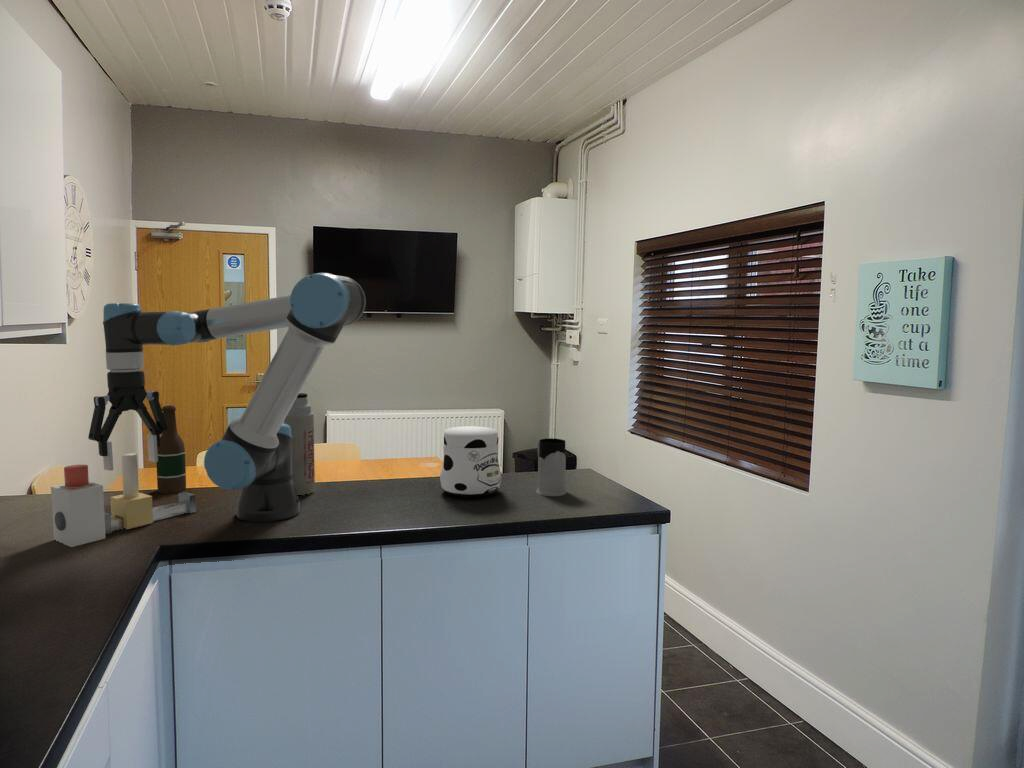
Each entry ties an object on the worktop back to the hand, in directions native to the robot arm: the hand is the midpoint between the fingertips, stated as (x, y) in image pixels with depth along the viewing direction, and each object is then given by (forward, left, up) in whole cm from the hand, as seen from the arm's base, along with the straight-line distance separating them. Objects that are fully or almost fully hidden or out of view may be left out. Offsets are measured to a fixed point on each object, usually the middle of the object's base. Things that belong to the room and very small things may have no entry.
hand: (131, 465), depth 159 cm
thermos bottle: (-8, -42, -15) cm, 45 cm away
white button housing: (-1, +12, -14) cm, 19 cm away
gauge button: (-1, +12, -2) cm, 12 cm away
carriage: (0, 0, -14) cm, 14 cm away
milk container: (-47, -70, -15) cm, 86 cm away
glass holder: (-63, -86, -15) cm, 108 cm away
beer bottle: (+22, -22, -15) cm, 35 cm away
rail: (0, -3, -14) cm, 15 cm away
